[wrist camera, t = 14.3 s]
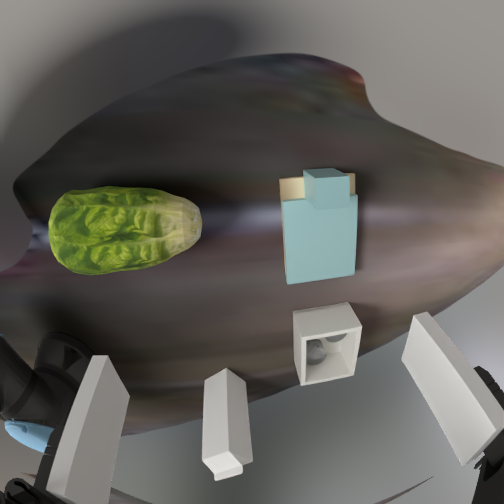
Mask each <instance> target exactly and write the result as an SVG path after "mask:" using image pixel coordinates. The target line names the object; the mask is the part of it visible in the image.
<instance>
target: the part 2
mask: <svg viewBox="0 0 504 504" xmlns="http://www.w3.org/2000/svg"><path fill="white" fill-rule="evenodd" d="M346 334H347V333H345V334H339V335H334V336H329V337H325V338H326V340H327V341H329V342H338V341H340V340H342V339H343V338H344V337H345V336H346Z"/></svg>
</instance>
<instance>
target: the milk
mask: <svg viewBox="0 0 504 504" xmlns="http://www.w3.org/2000/svg"><path fill="white" fill-rule="evenodd" d="M202 440H203V441H202V461H203V462H204V463H205V464H206V465H207V466H208V467H209V469H210V470H211V471H212V472H213V473H214V477H215V478H214V479H215V481H218V480H221V479H224V478H228V477H232V476H235V475H238V474H241V473H242V472H243V466H242V465H245V464H247V463H250V462H252V461H253V457H252V446H251V436H250V425H249V415H248V403H247V392H246V382H245V381H244V380H242V379H241V378H240V377H238V376H237V375H235V374H234V373H233V372H231V371H230V370H229V369H227V368H225V369H223V370H222V371H220V372H218V373H216V374H215V375H213V376H211V377H209V378H208V379H206V380H205V384H204V407H203V439H202Z"/></svg>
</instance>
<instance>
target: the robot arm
mask: <svg viewBox="0 0 504 504" xmlns="http://www.w3.org/2000/svg"><path fill="white" fill-rule="evenodd" d="M401 360H402V361H403V363H404V364H405V366H406V368H407V370H408V371H409V373H410V374H411V376H412V378H413V379H414V381H415V383H416V384H417V386H418V388H419V389H420V391H421V392H422V394H423V396H424V398H425V400H426V401H427V403H428V405H429V407H430V408H431V410H432V412H433V414H434V415H435V417H436V419H437V421H438V422H439V424H440V426H441V428H442V430H443V432H444V433H445V435H446V437H447V439H448V441H449V443H450V445H451V446H452V448H453V450H454V452H455V454H456V456H457V458H458V460H459V461H460V464H461V466H464V465H466V464H468V463H469V462H471V461H473V460H474V459H476V458H477V457H478V456H479V455H480V454H481V453H482V452H484V454H485V456H483V457H482V458H481V460H480V461H478V463H477V464H476V465H475V467H474V469H477V468H478V467H479V466H480V465H481V464H482V465H481V467H480V468H479V470H480V474H479V478H478V482H477V486H476V490H475V494H474V497H473V501H472V504H504V393H503V391H502V390H501V389H500V387H499V385H498V384H497V383H495V380H494V379H493V378H492V376H491V375H490V374H489V372H488V371H486V370H485V369H483V368H481V367H480V366H477V367H475V368H473V367H472V366H471V365H470V363H469V362H468V361H467V360H466V358H465V357H464V356H463V354H462V353H461V352H460V351H459V349H458V348H457V347H456V346H455V344H454V343H453V342H452V341H451V339H450V338H449V337H448V336H447V335H446V333H445V332H444V331H443V330H442V329H441V327H440V326H439V325H438V324H437V323H436V322H435V320H434V319H433V318H432V317H431V316H430V315H429V313H428V312H424V313H420V314H417V315H414V316H413V320H412V324H411V327H410V331H409V335H408V339H407V342H406V346H405V349H404V352H403V356H402V359H401ZM129 398H130V395H129V394H128V392H127V390H126V388H125V387H124V385H123V383H122V381H121V380H120V378H119V376H118V374H117V372H116V370H115V368H114V367H113V365H112V363H111V361H110V359H109V357H108V355H94V354H93V353H92V352H91V350H90V349H89V348H88V347H86V346H85V345H84V344H83V343H81V342H80V341H78V340H77V339H75V338H73V337H71V336H69V335H66V334H63V333H58V332H52V333H48V334H46V335H45V336H44V337H43V338H42V340H41V341H40V343H39V345H38V347H37V356H36V360H35V365H34V369H33V370H32V369H31V367H30V366H29V365H28V364H27V363H26V362H25V361H24V360H23V359H22V358H21V357H20V356H19V355H18V354H17V352H16V351H15V350H14V349H13V348H12V347H11V346H10V345H9V343H8V342H7V341H6V340H5V339H4V336H3V335H2V334H0V414H1V415H2V416H3V417H4V418H5V419H6V420H7V421H6V422H5V428H6V430H7V432H9V434H10V435H11V436H12V437H13V438H15V439H16V440H18V441H19V442H21V443H22V444H24V445H26V446H28V447H30V448H32V449H35V450H37V451H40V452H43V453H44V455H43V457H42V460H41V463H40V466H39V470H38V473H37V476H36V480H35V483H34V486H31V485H30V484H28V483H27V482H26V481H24V480H23V479H20V478H14V479H12V480H10V481H9V482H8V483H7V485H6V487H5V492H4V493H3V492H1V491H0V504H108V501H109V495H110V489H111V483H112V477H113V472H114V466H115V461H116V456H117V451H118V446H119V441H120V437H121V432H122V427H123V423H124V419H125V414H126V410H127V406H128V402H129Z"/></svg>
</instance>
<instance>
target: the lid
mask: <svg viewBox="0 0 504 504" xmlns="http://www.w3.org/2000/svg"><path fill="white" fill-rule="evenodd" d="M303 176H304V196H305V198H298V199H287V200H281V201H282V215H283V231H284V248H285V266H286V282H287V284H294V283H301V282H308V281H315V280H322V279H329V278H336V277H342V276H349V275H354V272H355V257H356V238H357V206H358V195H356V194H350V179H349V176H348V175H346V174H344V173H342V172H340V171H339V170H337V169H335V168H323V169H309V170H303Z"/></svg>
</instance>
